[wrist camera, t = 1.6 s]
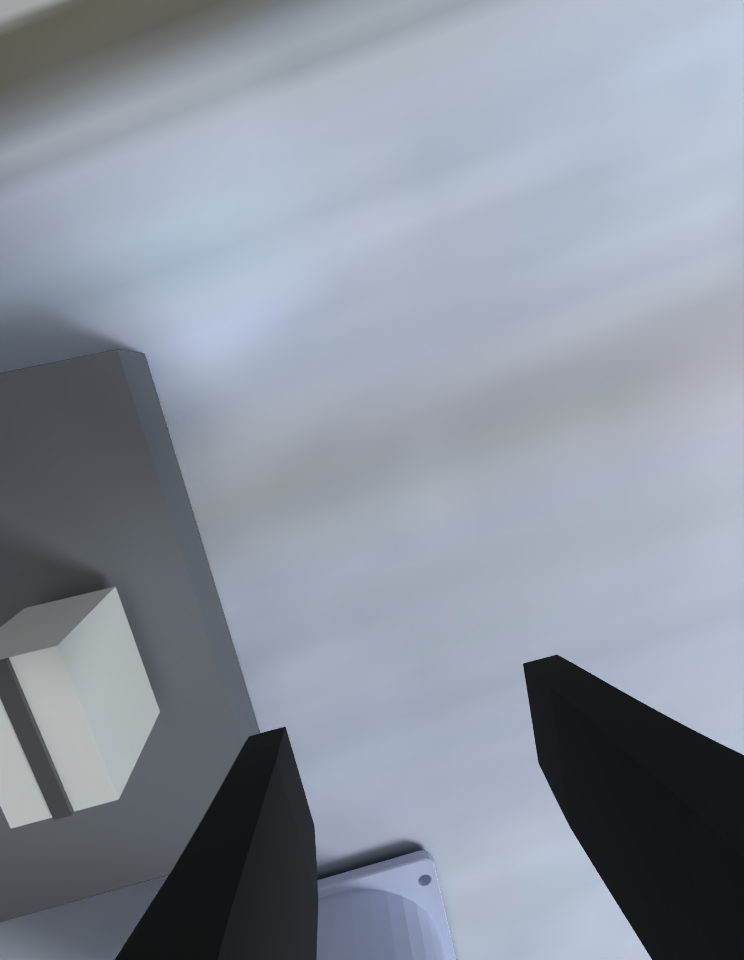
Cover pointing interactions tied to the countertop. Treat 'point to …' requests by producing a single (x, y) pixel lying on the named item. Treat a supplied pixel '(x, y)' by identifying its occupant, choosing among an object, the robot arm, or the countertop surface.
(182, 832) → the panel
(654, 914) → the robot arm
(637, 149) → the countertop surface
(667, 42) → the countertop surface
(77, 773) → the fader
